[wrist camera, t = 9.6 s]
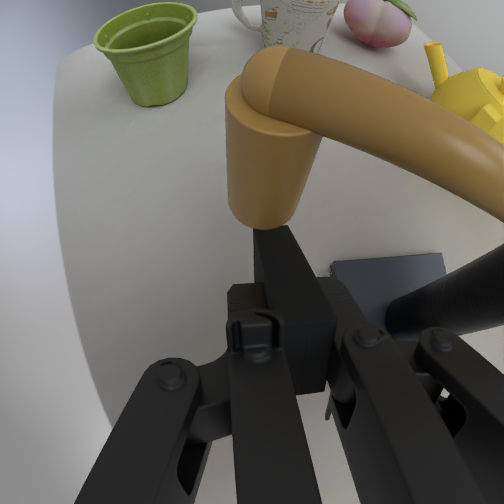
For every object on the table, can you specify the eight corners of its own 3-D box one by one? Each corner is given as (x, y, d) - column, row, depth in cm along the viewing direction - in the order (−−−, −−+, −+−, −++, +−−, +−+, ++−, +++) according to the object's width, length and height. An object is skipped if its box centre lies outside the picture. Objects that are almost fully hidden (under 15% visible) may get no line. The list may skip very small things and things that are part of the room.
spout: (209, 234, 12) (180, 60, 5) (249, 149, 13) (261, -16, 6) (511, 343, 11) (635, 307, 3) (516, 264, 12) (619, 204, 5)
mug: (307, 83, 30) (325, 6, 20) (210, 49, 31) (207, -21, 22) (333, 53, 32) (351, -11, 23) (246, 23, 34) (250, -38, 24)
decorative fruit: (400, 47, 35) (422, -3, 26) (396, 70, 32) (423, 13, 23) (342, 22, 36) (357, -30, 26) (330, 42, 33) (346, -19, 24)
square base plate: (346, 399, 20) (483, 433, 6) (330, 265, 23) (429, 150, 10) (453, 370, 20) (592, 352, 7) (435, 256, 24) (550, 173, 10)
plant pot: (150, 134, 26) (128, 62, 18) (101, 98, 28) (77, 37, 20) (221, 84, 29) (219, 14, 21) (165, 55, 31) (155, -4, 22)
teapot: (362, 113, 29) (399, 29, 18) (428, 73, 33) (459, 16, 23) (496, 253, 24) (572, 206, 14) (528, 174, 29) (575, 130, 18)
